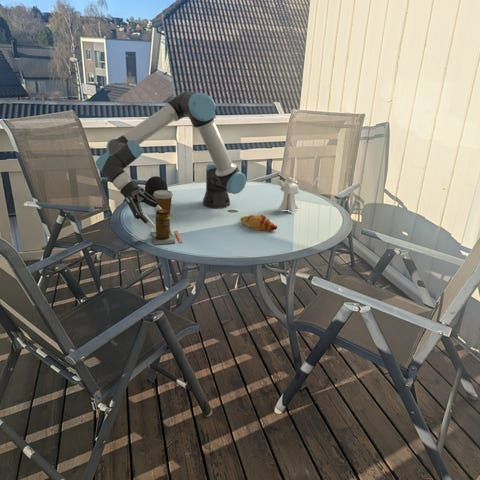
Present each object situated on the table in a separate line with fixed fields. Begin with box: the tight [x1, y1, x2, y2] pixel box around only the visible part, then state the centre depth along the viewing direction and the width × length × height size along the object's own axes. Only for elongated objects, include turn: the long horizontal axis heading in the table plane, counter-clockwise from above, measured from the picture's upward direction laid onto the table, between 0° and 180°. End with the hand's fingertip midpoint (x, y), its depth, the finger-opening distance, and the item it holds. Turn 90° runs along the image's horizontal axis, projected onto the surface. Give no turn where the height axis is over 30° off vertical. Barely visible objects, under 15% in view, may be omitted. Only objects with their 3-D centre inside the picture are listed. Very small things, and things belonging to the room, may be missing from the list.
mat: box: [150, 230, 176, 246], centre depth 181 cm, size 9×14×1 cm, turn 17°
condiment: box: [153, 209, 175, 241], centre depth 178 cm, size 7×8×12 cm
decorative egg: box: [144, 175, 169, 197], centre depth 225 cm, size 12×12×15 cm
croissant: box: [240, 214, 278, 232], centre depth 199 cm, size 21×10×8 cm, turn 54°
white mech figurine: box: [277, 176, 300, 213], centre depth 221 cm, size 12×13×18 cm
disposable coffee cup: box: [153, 189, 174, 217], centre depth 208 cm, size 10×10×12 cm
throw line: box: [174, 230, 183, 244], centre depth 183 cm, size 1×14×1 cm, turn 18°
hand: (159, 222), depth 179 cm, fingers open, 13 cm apart
